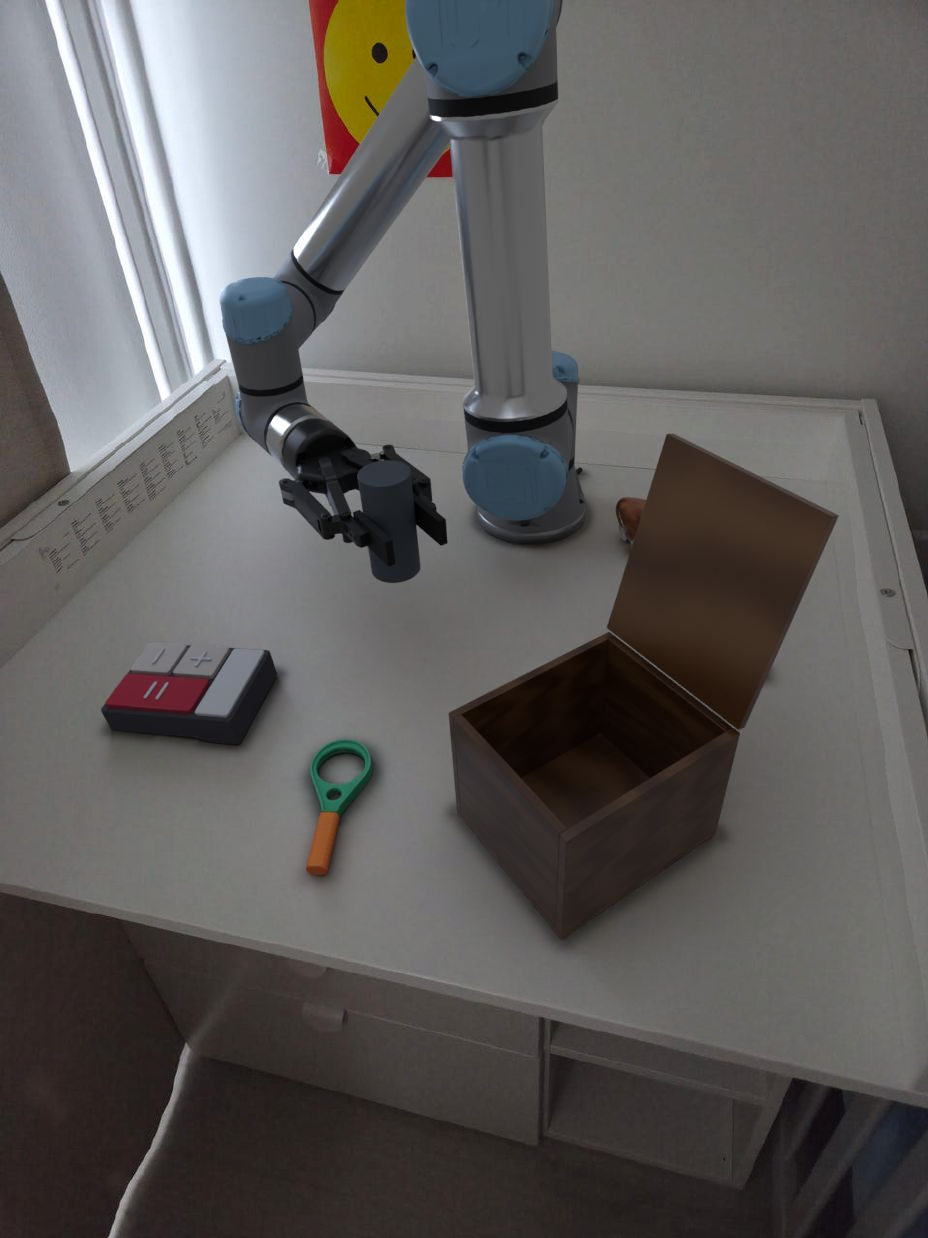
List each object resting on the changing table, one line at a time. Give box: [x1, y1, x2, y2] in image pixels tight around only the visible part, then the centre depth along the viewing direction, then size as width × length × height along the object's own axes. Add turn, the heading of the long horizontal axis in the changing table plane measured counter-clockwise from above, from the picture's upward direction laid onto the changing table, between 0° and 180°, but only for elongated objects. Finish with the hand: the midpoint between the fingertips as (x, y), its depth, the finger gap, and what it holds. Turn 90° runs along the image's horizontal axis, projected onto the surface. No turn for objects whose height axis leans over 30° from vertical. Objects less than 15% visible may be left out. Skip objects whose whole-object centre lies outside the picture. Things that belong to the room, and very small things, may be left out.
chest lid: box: [606, 432, 840, 731], centre depth 64 cm, size 18×16×1 cm
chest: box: [448, 631, 741, 940], centre depth 70 cm, size 18×16×13 cm
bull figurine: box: [615, 496, 646, 548], centre depth 104 cm, size 4×13×8 cm, turn 58°
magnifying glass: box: [305, 738, 374, 876], centre depth 76 cm, size 15×6×2 cm, turn 176°
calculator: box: [100, 641, 278, 745], centre depth 88 cm, size 11×4×15 cm
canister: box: [357, 460, 421, 584], centre depth 79 cm, size 5×5×11 cm
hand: (417, 542), depth 75 cm, fingers closed on canister, 5 cm apart
